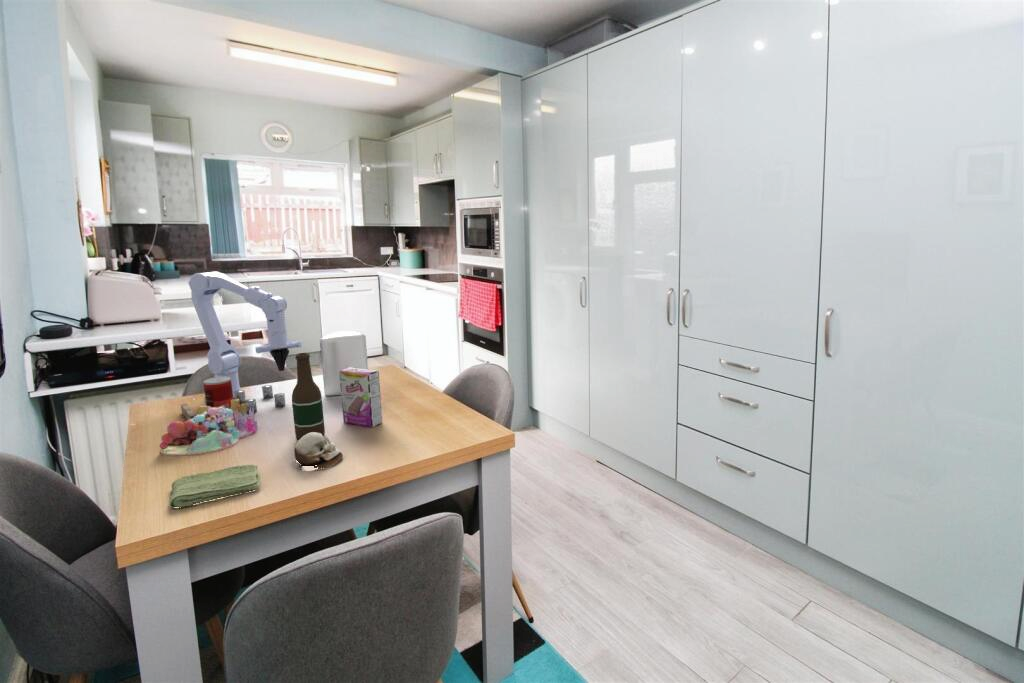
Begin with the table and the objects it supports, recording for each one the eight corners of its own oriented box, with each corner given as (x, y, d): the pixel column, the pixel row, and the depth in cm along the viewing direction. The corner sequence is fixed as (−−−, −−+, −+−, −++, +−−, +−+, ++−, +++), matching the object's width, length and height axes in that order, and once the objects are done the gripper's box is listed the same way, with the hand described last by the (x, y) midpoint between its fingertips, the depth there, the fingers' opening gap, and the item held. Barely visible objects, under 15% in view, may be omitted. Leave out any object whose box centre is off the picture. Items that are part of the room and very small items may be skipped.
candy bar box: (342, 423, 163) (337, 370, 160) (353, 418, 168) (349, 366, 164) (372, 428, 159) (368, 373, 155) (383, 423, 163) (379, 369, 160)
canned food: (239, 408, 180) (235, 376, 178) (225, 416, 172) (221, 382, 170) (217, 408, 180) (213, 376, 178) (202, 416, 173) (197, 382, 170)
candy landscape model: (170, 431, 161) (166, 401, 159) (258, 418, 170) (254, 390, 168) (155, 462, 139) (149, 428, 137) (257, 446, 148) (253, 413, 146)
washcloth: (262, 493, 121) (261, 479, 120) (169, 514, 112) (167, 499, 112) (257, 471, 132) (256, 458, 131) (172, 489, 124) (170, 475, 123)
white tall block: (341, 384, 206) (336, 327, 202) (377, 385, 204) (373, 327, 200) (322, 396, 191) (316, 334, 187) (361, 397, 189) (356, 335, 185)
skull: (332, 443, 145) (339, 422, 138) (343, 478, 140) (351, 458, 133) (284, 453, 138) (289, 432, 131) (294, 489, 133) (300, 470, 126)
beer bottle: (297, 444, 147) (288, 358, 142) (294, 435, 154) (285, 352, 149) (327, 439, 151) (319, 354, 146) (323, 430, 157) (315, 349, 153)
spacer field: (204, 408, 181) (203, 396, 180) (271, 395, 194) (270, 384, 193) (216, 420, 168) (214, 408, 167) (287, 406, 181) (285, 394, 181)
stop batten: (182, 413, 176) (180, 404, 176) (187, 412, 177) (186, 403, 177) (191, 425, 164) (190, 416, 164) (197, 424, 165) (196, 415, 165)
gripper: (258, 336, 179) (262, 376, 181) (302, 330, 188) (306, 368, 190) (252, 333, 184) (256, 372, 187) (295, 328, 193) (299, 365, 196)
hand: (281, 370), depth 189 cm, fingers closed
